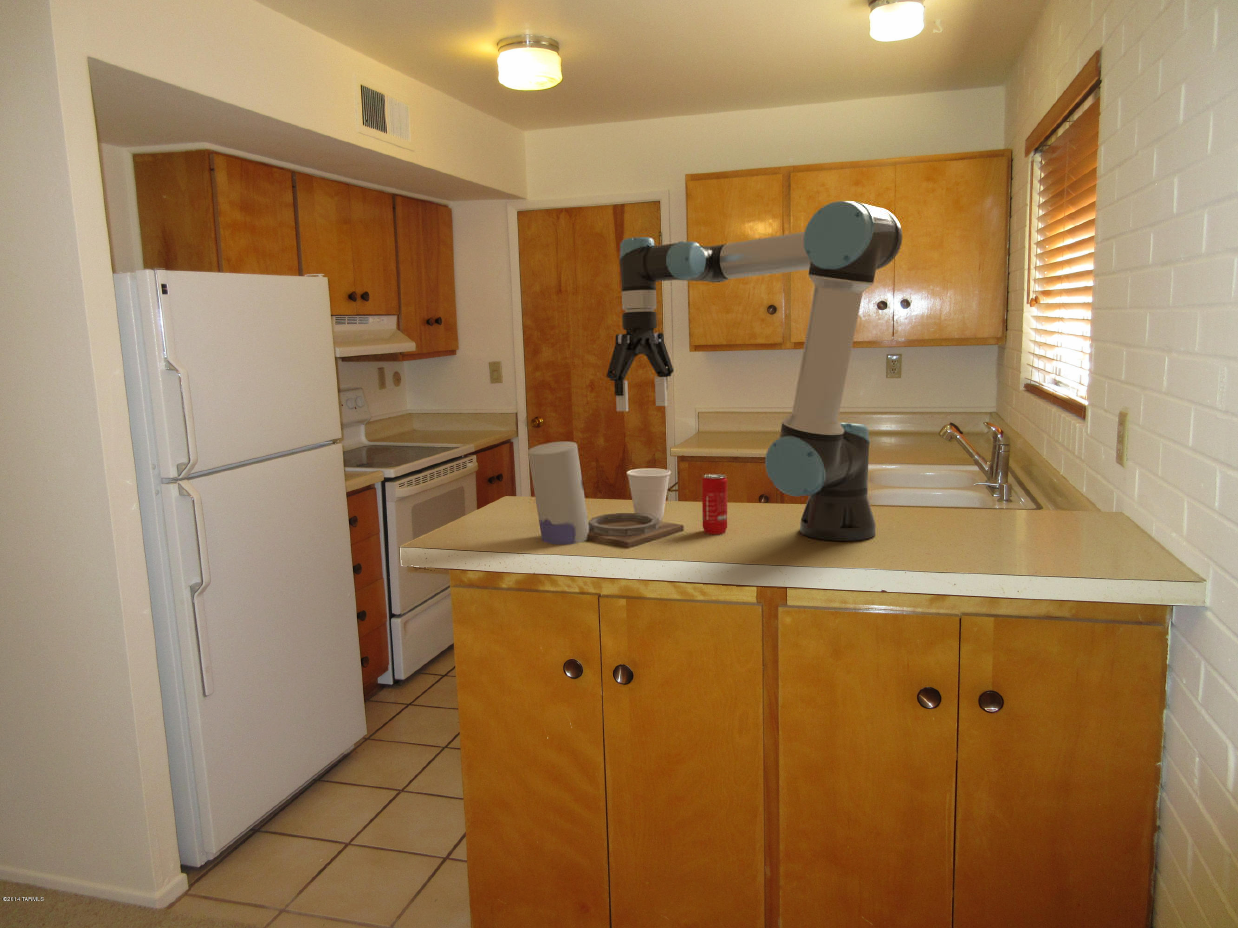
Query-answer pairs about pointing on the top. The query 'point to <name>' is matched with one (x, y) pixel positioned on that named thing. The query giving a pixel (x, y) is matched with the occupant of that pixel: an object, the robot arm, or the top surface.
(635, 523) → the collar board
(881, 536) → the top surface
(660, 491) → the cup
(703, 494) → the beverage can
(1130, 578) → the top surface
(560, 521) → the container
